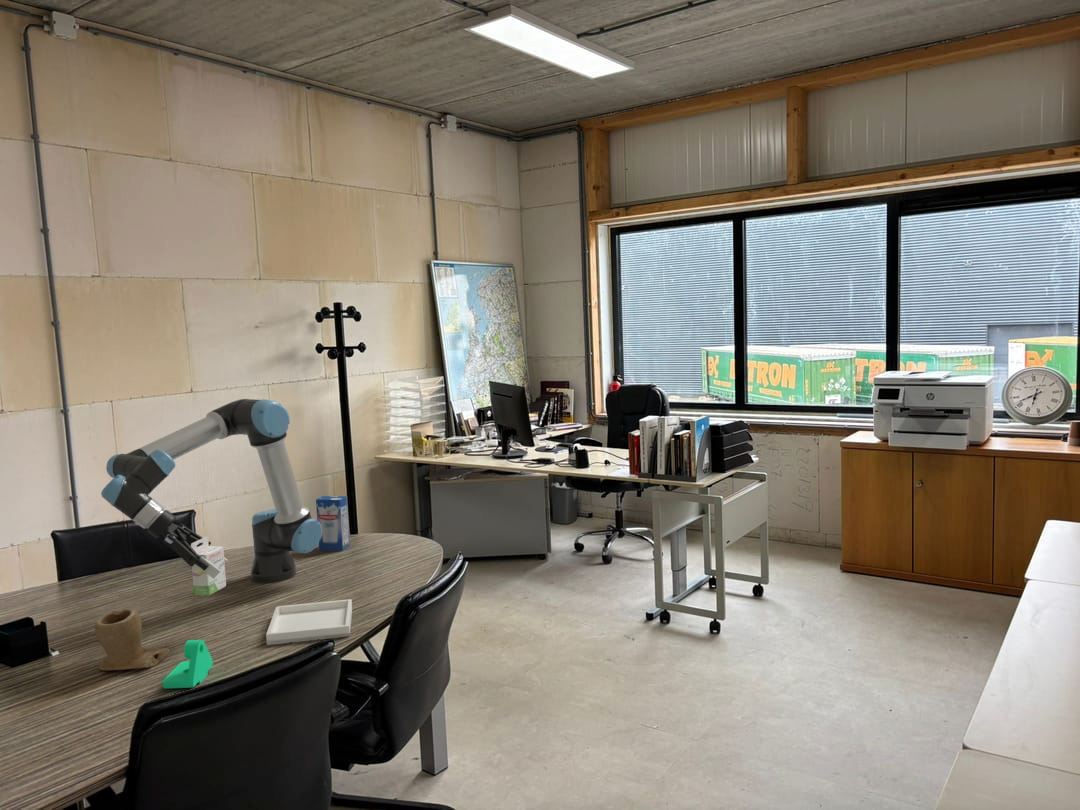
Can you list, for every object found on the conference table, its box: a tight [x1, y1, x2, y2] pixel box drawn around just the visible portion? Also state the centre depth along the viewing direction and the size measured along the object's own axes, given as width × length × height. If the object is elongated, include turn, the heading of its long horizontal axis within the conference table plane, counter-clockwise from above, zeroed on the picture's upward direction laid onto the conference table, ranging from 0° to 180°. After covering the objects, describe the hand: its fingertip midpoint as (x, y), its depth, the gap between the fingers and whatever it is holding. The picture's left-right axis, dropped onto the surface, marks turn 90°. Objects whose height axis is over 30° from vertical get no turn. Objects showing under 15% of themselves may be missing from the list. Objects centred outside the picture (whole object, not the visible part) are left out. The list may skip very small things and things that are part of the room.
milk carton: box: [315, 495, 350, 552], centre depth 307 cm, size 10×6×20 cm, turn 79°
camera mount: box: [162, 639, 214, 689], centre depth 195 cm, size 12×8×10 cm, turn 1°
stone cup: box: [94, 608, 170, 671], centre depth 203 cm, size 15×12×15 cm
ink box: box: [191, 536, 227, 597], centre depth 223 cm, size 9×5×15 cm, turn 168°
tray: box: [265, 598, 353, 646], centre depth 228 cm, size 22×22×3 cm
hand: (220, 569), depth 224 cm, fingers closed on ink box, 9 cm apart
